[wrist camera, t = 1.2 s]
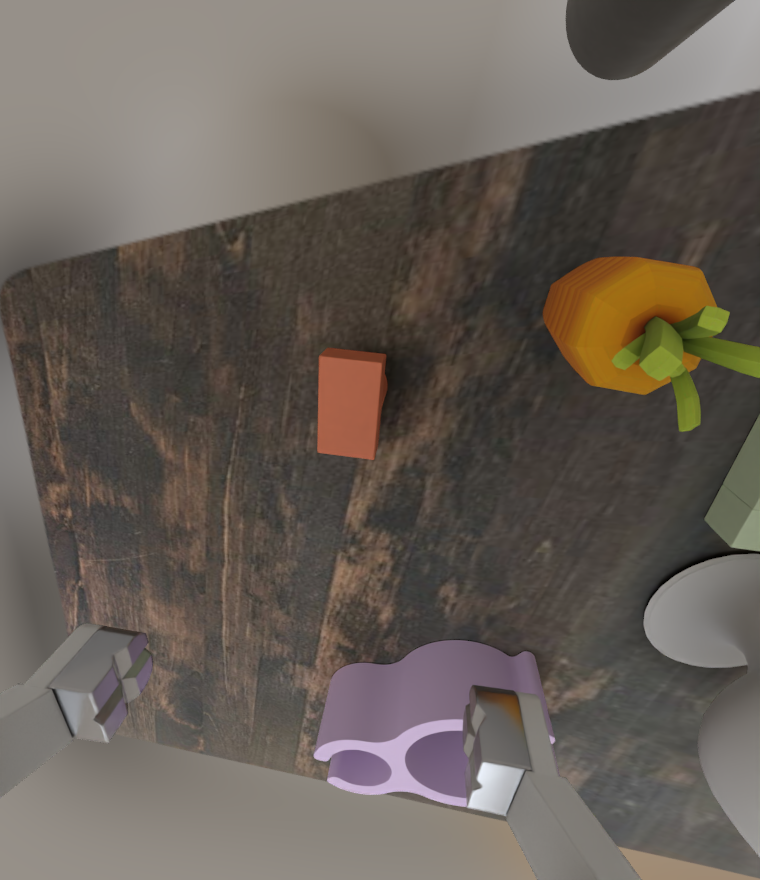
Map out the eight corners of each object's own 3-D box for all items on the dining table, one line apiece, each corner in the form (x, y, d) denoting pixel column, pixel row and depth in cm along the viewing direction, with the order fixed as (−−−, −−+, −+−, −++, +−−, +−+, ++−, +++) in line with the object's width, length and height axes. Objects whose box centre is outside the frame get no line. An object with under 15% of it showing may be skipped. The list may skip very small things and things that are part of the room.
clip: (354, 729, 45) (341, 806, 39) (317, 651, 40) (296, 726, 34) (545, 721, 41) (565, 807, 35) (530, 633, 36) (551, 715, 30)
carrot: (627, 281, 23) (891, 336, 10) (565, 354, 25) (713, 482, 12) (557, 230, 23) (739, 216, 9) (499, 310, 25) (578, 393, 11)
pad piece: (336, 337, 27) (317, 355, 22) (391, 343, 26) (383, 363, 22) (333, 421, 29) (316, 452, 25) (383, 428, 29) (374, 460, 25)
